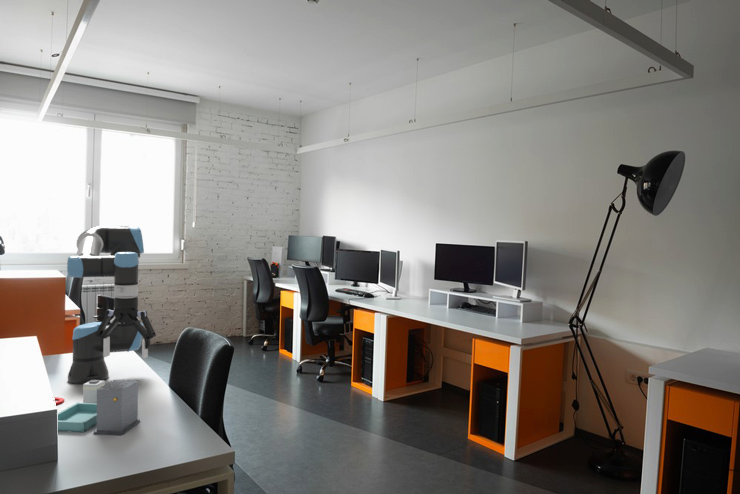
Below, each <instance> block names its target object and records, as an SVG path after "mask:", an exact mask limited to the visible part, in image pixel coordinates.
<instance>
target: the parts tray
mask: <svg viewBox="0 0 740 494" xmlns="http://www.w3.org/2000/svg"><path fill="white" fill-rule="evenodd" d="M57 413H58V431H57V432H68V431H71V432H72V433H85V432H87V430H90V429H91V428H93V427H94V426H95V425H96V426H97V403H83V402H76V403H74V404H72V405H70V406H68V407H67V408H65V409H63V410H61V411H59V412H57Z"/></svg>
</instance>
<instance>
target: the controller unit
mask: <svg viewBox="0 0 740 494" xmlns="http://www.w3.org/2000/svg"><path fill="white" fill-rule="evenodd" d="M138 389H139V381H138V380H126V379H124V380H123V379H113V380H111V381H110V382H107V383H105V385H104V386H102V387H100V388H98V389H97V424H96V429H95V430H94V431H93V435H107V436H110V435H111V436H123V435H125V434H126V433H127V432H129V431H130V430H132V428H134V427H135V426H137V425H138V424H140V422H141V419H138V418H139V417H138V415H139V414H138V411H139V410H138V409H139V407H138V405H139V402H138V401H139V399H138V397H139V395H138V394H139V390H138Z"/></svg>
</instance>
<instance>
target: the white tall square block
mask: <svg viewBox="0 0 740 494" xmlns="http://www.w3.org/2000/svg"><path fill="white" fill-rule="evenodd" d="M104 385H106V381H105V380H102V381H99V380H91V381H89V382H87V383H85V384H83V385H82V403H97V389H98V388H100V387H102V386H104Z"/></svg>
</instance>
